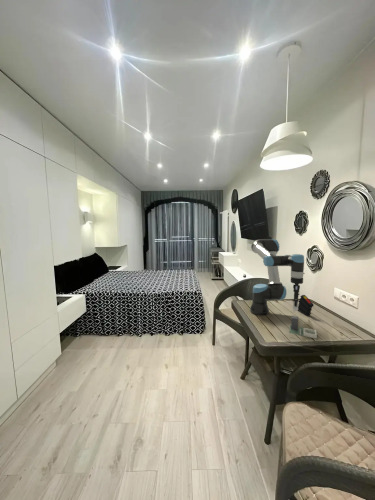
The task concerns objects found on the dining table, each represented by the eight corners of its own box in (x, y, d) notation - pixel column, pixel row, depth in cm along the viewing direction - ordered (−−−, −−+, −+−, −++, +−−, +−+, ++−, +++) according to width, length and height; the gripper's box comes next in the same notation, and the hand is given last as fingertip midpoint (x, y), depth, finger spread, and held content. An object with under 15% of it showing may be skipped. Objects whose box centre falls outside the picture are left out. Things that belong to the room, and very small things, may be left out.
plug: (291, 329, 139) (291, 317, 138) (291, 326, 143) (291, 315, 142) (298, 330, 137) (298, 319, 136) (298, 328, 140) (298, 316, 140)
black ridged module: (298, 307, 176) (304, 294, 168) (308, 319, 165) (315, 306, 157) (294, 307, 175) (301, 294, 167) (304, 319, 164) (311, 306, 156)
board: (289, 334, 134) (289, 329, 134) (289, 326, 145) (290, 322, 144) (317, 340, 127) (317, 335, 126) (315, 332, 137) (316, 327, 137)
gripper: (303, 282, 123) (302, 315, 125) (303, 273, 145) (301, 302, 147) (289, 280, 127) (288, 312, 129) (291, 272, 148) (290, 300, 150)
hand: (295, 307), depth 138 cm, fingers open, 13 cm apart
